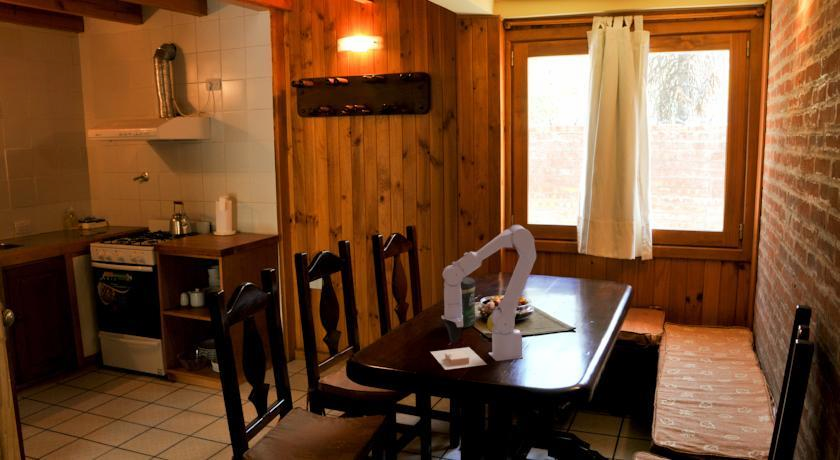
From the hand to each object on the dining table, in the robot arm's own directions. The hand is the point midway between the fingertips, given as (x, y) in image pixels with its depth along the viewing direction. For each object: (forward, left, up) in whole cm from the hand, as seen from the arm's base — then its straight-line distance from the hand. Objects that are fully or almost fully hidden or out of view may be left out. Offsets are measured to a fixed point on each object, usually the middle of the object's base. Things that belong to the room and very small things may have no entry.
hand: (454, 342), depth 222 cm
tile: (0, -1, -4) cm, 5 cm away
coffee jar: (-15, -36, -6) cm, 39 cm away
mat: (-1, 0, -6) cm, 6 cm away
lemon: (-22, -21, -6) cm, 31 cm away
